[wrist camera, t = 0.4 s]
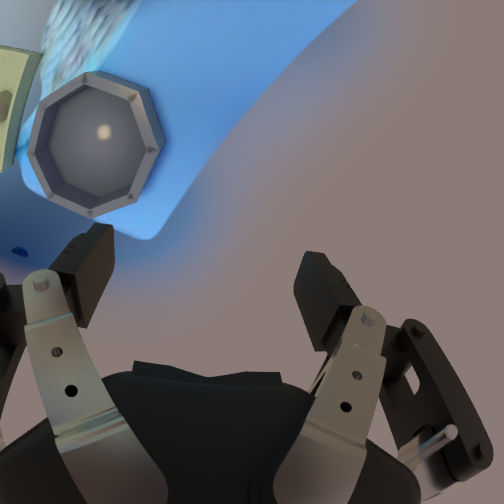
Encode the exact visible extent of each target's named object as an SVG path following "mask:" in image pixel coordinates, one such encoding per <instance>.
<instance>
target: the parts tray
mask: <svg viewBox="0 0 504 504" xmlns="http://www.w3.org/2000/svg"><path fill="white" fill-rule="evenodd" d="M41 57H42V54H41V53H37V52H33V51H28V50H23V49H19V48H12V47H8V46H1V45H0V92H1V91H5V90H7V91H9V92H10V93H11V94H12V100H11V104H10V108H9V112H8V117H7V120H6V121H3V122H1V123H0V172H3V171H4V170H6V169H7V168H8V167H10V166H11V165H12V164H13V163H14V156H15V150H16V144H17V139H18V134H19V129H20V124H21V120H22V115H23V112H24V108H25V104H26V101H27V97H28V94H29V91H30V87H31V84H32V81H33V78H34V75H35V72H36V70H37V67H38V64H39V62H40V59H41Z"/></svg>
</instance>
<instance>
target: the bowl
mask: <svg viewBox="0 0 504 504" xmlns="http://www.w3.org/2000/svg"><path fill="white" fill-rule="evenodd" d="M165 142H166V139H165V136H164V134H163V131H162V128H161V125H160V122H159V119H158V116H157V113H156V110H155V107H154V104H153V101H152V98H151V95H150V92H149V89H147V88H145V87H142V86H140V85H137V84H135V83H132V82H130V81H127V80H125V79H122V78H119V77H117V76H114V75H111V74H108V73H105V72H103V71H93V72H85V73H83V74H81V75H80V76H78V77H76V78H75V79H73V80H71V81H70V82H68V83H67V84H65V85H63V86H62V87H60V88H59V89H57V90H56V91H54V92H53V93H51V94H50V95H49V96H47V97H46V98H44V99H43V100H42V101H40V102H39V105H38V108H37V112H36V115H35V119H34V123H33V127H32V131H31V136H30V140H29V145H28V150H27V156H28V159H29V161H30V163H31V165H32V168H33V170H34V172H35V174H36V176H37V178H38V180H39V182H40V184H41V187H42V189H43V190H44V192H45V194H46V196H47V198H48V200H50V201H52V202H54V203H56V204H59V205H61V206H63V207H65V208H67V209H70V210H72V211H74V212H76V213H79V214H81V215H83V216H85V217H88V218H90V219H93V218H95V217H98V216H100V215H103V214H105V213H108V212H111V211H113V210H116V209H119V208H121V207H124V206H127V205H130V204H132V203H135V202H137V200H138V198H139V196H140V194H141V192H142V190H143V189H144V187H145V184H146V182H147V180H148V178H149V175H150V173H151V171H152V169H153V167H154V164H155V162H156V160H157V158H158V156H159V154H160V152H161V150H162V148H163V146H164V144H165Z"/></svg>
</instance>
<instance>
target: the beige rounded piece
mask: <svg viewBox="0 0 504 504" xmlns="http://www.w3.org/2000/svg"><path fill="white" fill-rule="evenodd" d="M11 100H12V94H11V93H10V92H9V91H7V90H5V91H1V92H0V123H1V122H3V121H6V120H7V117H8V112H9V108H10V104H11Z"/></svg>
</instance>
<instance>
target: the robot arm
mask: <svg viewBox="0 0 504 504" xmlns="http://www.w3.org/2000/svg"><path fill="white" fill-rule="evenodd" d="M114 264H115V253H114V229H113V226H112V225H110V224H102V223H94V224H93V226H92V227H91V228H90V229H89V230H88V231H87V233H86V234H85V233H82V234H80V235H78V236H77V237H75V238H73V239H72V240H71V242H70V243H69V244H68V245H67V247H65V249H64V250H63V252H62V253H60V255H59V256H58V257H57V258H56V260H55V261H54V262H53V263H52V265H51V266H50V268H49V269H48V270H46V269H44V270H38V271H35V272H33V273H31V274H30V275H28V276H27V277H26V278H25V280H24V282H23V284H22V285H7V284H6V281H5V278H4V275H3V274H1V273H0V419H1V415H2V411H3V408H4V404H5V401H6V398H7V394H8V391H9V388H10V385H11V383H12V379H13V377H14V374H15V372H16V369H17V366H18V364H19V361H20V359H21V356H22V354H23V352H24V349H25V347H26V346H28V351H29V356H30V359H31V364H32V368H33V372H34V376H35V379H36V382H37V386H38V390H39V393H40V396H41V399H42V402H43V405H44V408H45V411H46V413H47V416H48V417H47V418H45V419H44V420H43V421H41V422H40V423H39V424H37V425H36V426H34V427H33V428H32V429H30V430H29V431H27V432H26V433H25V434H23V435H22V436H21V437H19V438H18V439H16V440H15V441H13V442H12V443H11V444H9V445H8V446H6V447H5V444H4V442H3V438H2V432H1V429H0V504H421V502H422V501H425V500H428V499H430V498H432V497H435V496H437V495H439V494H441V493H443V492H445V491H447V490H449V489H451V488H453V487H455V486H457V485H459V484H461V483H463V482H464V481H466V480H468V479H470V478H472V477H473V476H475V475H477V474H478V473H480V472H482V471H483V470H485V469H486V468H488V467H489V466H490V464H491V463H492V460H493V447H492V444H491V441H490V439H489V437H488V435H487V432H486V430H485V428H484V426H483V424H482V422H481V419H480V417H479V415H478V413H477V411H476V409H475V407H474V406H473V404H472V402H471V400H470V398H469V396H468V394H467V392H466V390H465V388H464V387H463V385H462V383H461V381H460V379H459V378H458V376H457V374H456V372H455V371H454V369H453V367H452V366H451V364H450V362H449V361H448V359H447V357H446V356H445V354H444V353H443V351H442V349H441V348H440V346H439V345H438V343H437V342H436V340H435V338H434V337H433V335H432V334H431V332H430V331H429V329H428V328H427V327H426V326H425V325H424V324H423V323H421V322H419V321H417V320H415V319H406V320H405V321H404V323H403V324H402V326H401V328H397V327H393V326H389V325H386V321H385V319H384V318H383V316H382V315H381V314H380V313H379V312H378V311H376V310H375V309H373V308H371V307H368V306H363V305H362V304H361V303H360V301H359V299H358V298H357V296H356V294H355V293H354V291H353V290H352V288H350V285H349V284H348V282H346V279H345V277H344V276H343V274H342V273H341V272H340V271H339V270H338V269H337V268H336V267H334V266H333V265H331V263H330V261H329V260H328V258H327V257H326V255H325V254H324V253H319V252H312V251H306V252H305V254H304V256H303V259H302V262H301V264H300V268H299V270H298V273H297V276H296V279H295V282H294V296H295V298H296V301H297V304H298V307H299V309H300V312H301V315H302V317H303V320H304V323H305V326H306V328H307V331H308V334H309V337H310V339H311V342H312V345H313V348H314V350H315V351H326V352H327V356H326V358H325V359H324V361H323V364H322V365H321V367H320V369H319V371H318V373H317V375H316V377H315V379H314V381H313V383H312V385H311V387H310V388H309V390H308V392H306V391H304V390H302V389H301V388H298V387H296V386H293V385H290V384H287V383H283V382H282V379H281V375H280V372H240V373H235V374H229V375H223V376H216V377H204V376H201V375H198V374H194V373H191V372H187V371H185V370H181V369H178V368H175V367H172V366H168V365H160V364H154V363H147V362H140V361H134V364H133V369H132V371H125V372H120V373H115V374H112V375H109V376H106V377H104V378H102V379H101V378H100V376H99V374H98V372H97V370H96V368H95V367H94V364H93V362H92V360H91V358H90V355H89V353H88V351H87V349H86V346H85V344H84V342H83V340H82V337H81V335H80V332H79V329H78V327H81V328H87V327H88V324H89V322H90V320H91V318H92V315H93V313H94V311H95V309H96V306H97V304H98V302H99V300H100V298H101V296H102V293H103V291H104V289H105V287H106V285H107V283H108V281H109V279H110V277H111V275H112V273H113V270H114ZM411 366H413V368H414V370H415V372H416V374H417V376H418V378H419V381H420V386H419V390H418V391H417V393H416V394H415V395H414V394H413V392H412V390H411V387H410V385H409V383H408V382H407V379H406V377H405V375H404V374H405V373H406V372H407V371H408V370H409V369H410V367H411ZM378 397H379V399H380V402H381V405H382V407H383V410H384V412H385V415H386V418H387V420H388V423H389V426H390V429H391V432H392V435H393V438H394V440H395V443H396V446H397V449H398V456H397V459H395V458H394V457H393V456H391V455H390V454H388V453H387V452H386V451H384V450H383V449H381V448H380V447H378V446H377V445H376V444H374V443H373V442H372V441H370V440H369V439H368V438H367V435H368V432H369V429H370V426H371V422H372V419H373V415H374V412H375V408H376V405H377V401H378Z"/></svg>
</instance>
